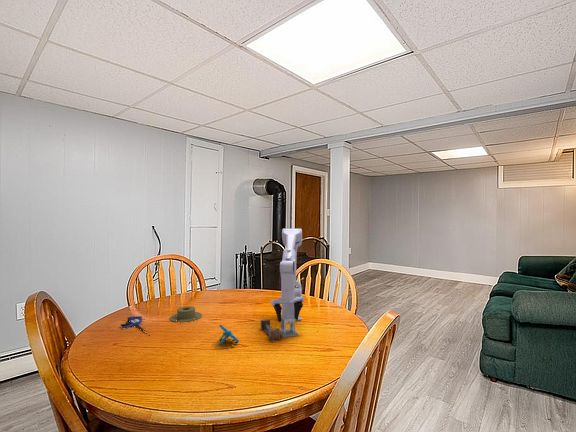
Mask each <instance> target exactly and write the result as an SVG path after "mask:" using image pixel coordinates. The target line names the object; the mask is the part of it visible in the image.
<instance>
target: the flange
mask: <svg viewBox="0 0 576 432" xmlns="http://www.w3.org/2000/svg"><path fill="white" fill-rule="evenodd" d="M176 315H177V316H176ZM202 317H203V314H202V313H201V312H199V311H198V312H197V311H196V306H195V307H194V306H193V305H192V306H190V305H187V306H182V307H181V306H180V307H179V308H177V309H176V313H175V314H172V315H171V316H169V321H170V320H171V322H172V321H174V322H173V323H176V322H187V323H192V322H191V321H193V322H196V321H198V319H199V320H201V318H202ZM194 318H195V319H194ZM176 320H178V321H176ZM195 320H196V321H195Z"/></svg>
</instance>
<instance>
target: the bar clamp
mask: <svg viewBox="0 0 576 432" xmlns="http://www.w3.org/2000/svg"><path fill="white" fill-rule="evenodd" d="M128 321H130V322H128ZM142 322H143V316H139V315H138V316H135V315H134V316H128V317H127V322H125V323H121V324H120V327H121V326H122V328H127V327H130V328H132V327H131V326H135V327H137V328H138V329H139V330H140V329H141V332H143V330H144V331H146V330H145V329H144V328H143V327H141V326H140V325H141V324H142ZM140 323H141V324H140ZM139 324H140V325H139ZM122 328H121V329H122ZM127 329H128V328H127Z"/></svg>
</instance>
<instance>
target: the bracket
mask: <svg viewBox="0 0 576 432" xmlns="http://www.w3.org/2000/svg"><path fill="white" fill-rule="evenodd" d="M287 323H289V328H288V329H289V330H290V331H291V332H292V333H295V331H296V321H295V318H294V317H293V316H284V317H281V322H280V330H281V332H282V333H283V334H284V335H285V334H286V329H287Z"/></svg>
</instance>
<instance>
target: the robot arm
mask: <svg viewBox="0 0 576 432" xmlns="http://www.w3.org/2000/svg"><path fill="white" fill-rule="evenodd" d="M281 240H282V244H283V246H286V247H285V249H284V250H283V251H282V257H281V258H282V259H281V261H280V263H279V273H280V282H281V283H280V286H281V287H280V290H281V292H280V297H279V298H276V299H271V300H270V305H271V306H272V307H273V308H274V310H275V313H276V318H277V322H279V323H281V317H284V316H293V317H294V318H295V322H296V321H302V320H303V318H302V317H300V312H301V310H302V309H303V307H304V303H305V297H303V293H302V292H303V289H302V284H301V282H300V281H298V280H297V256H298V255H297V254H298V253H297V251H298V247H301V246H302V244H303V229H302V228H282V230H281Z"/></svg>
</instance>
